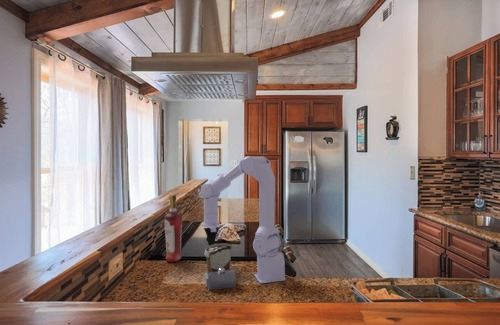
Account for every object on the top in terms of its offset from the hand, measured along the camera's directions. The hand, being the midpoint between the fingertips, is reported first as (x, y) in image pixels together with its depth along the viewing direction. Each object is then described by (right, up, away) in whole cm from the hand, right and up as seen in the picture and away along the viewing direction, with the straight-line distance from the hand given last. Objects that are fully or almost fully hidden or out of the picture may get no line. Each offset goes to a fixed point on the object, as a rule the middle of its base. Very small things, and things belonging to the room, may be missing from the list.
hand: (211, 245), depth 120 cm
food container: (+3, -8, -10) cm, 13 cm away
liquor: (-17, -8, +4) cm, 19 cm away
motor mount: (+6, -7, -21) cm, 23 cm away
